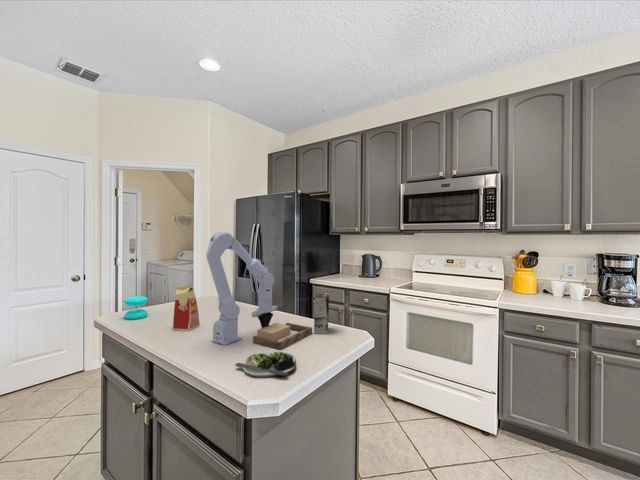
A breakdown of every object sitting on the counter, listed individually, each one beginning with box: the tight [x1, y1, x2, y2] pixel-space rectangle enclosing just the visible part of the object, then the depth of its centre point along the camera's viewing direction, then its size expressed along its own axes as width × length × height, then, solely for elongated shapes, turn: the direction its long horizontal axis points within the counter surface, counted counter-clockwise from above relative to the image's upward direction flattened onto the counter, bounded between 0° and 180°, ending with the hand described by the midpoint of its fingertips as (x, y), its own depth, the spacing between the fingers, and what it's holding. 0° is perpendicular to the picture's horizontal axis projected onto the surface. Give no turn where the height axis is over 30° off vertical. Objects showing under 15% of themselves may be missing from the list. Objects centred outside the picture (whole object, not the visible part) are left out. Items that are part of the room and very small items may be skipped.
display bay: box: [252, 322, 313, 351], centre depth 125 cm, size 23×14×2 cm, turn 150°
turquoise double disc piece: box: [124, 295, 149, 320], centre depth 151 cm, size 10×10×10 cm
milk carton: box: [172, 284, 201, 332], centre depth 136 cm, size 9×9×20 cm
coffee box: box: [313, 293, 330, 335], centre depth 136 cm, size 9×6×16 cm
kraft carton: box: [256, 322, 291, 341], centre depth 127 cm, size 12×8×4 cm, turn 148°
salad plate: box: [235, 351, 297, 378], centre depth 97 cm, size 19×18×5 cm
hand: (264, 330), depth 131 cm, fingers closed
